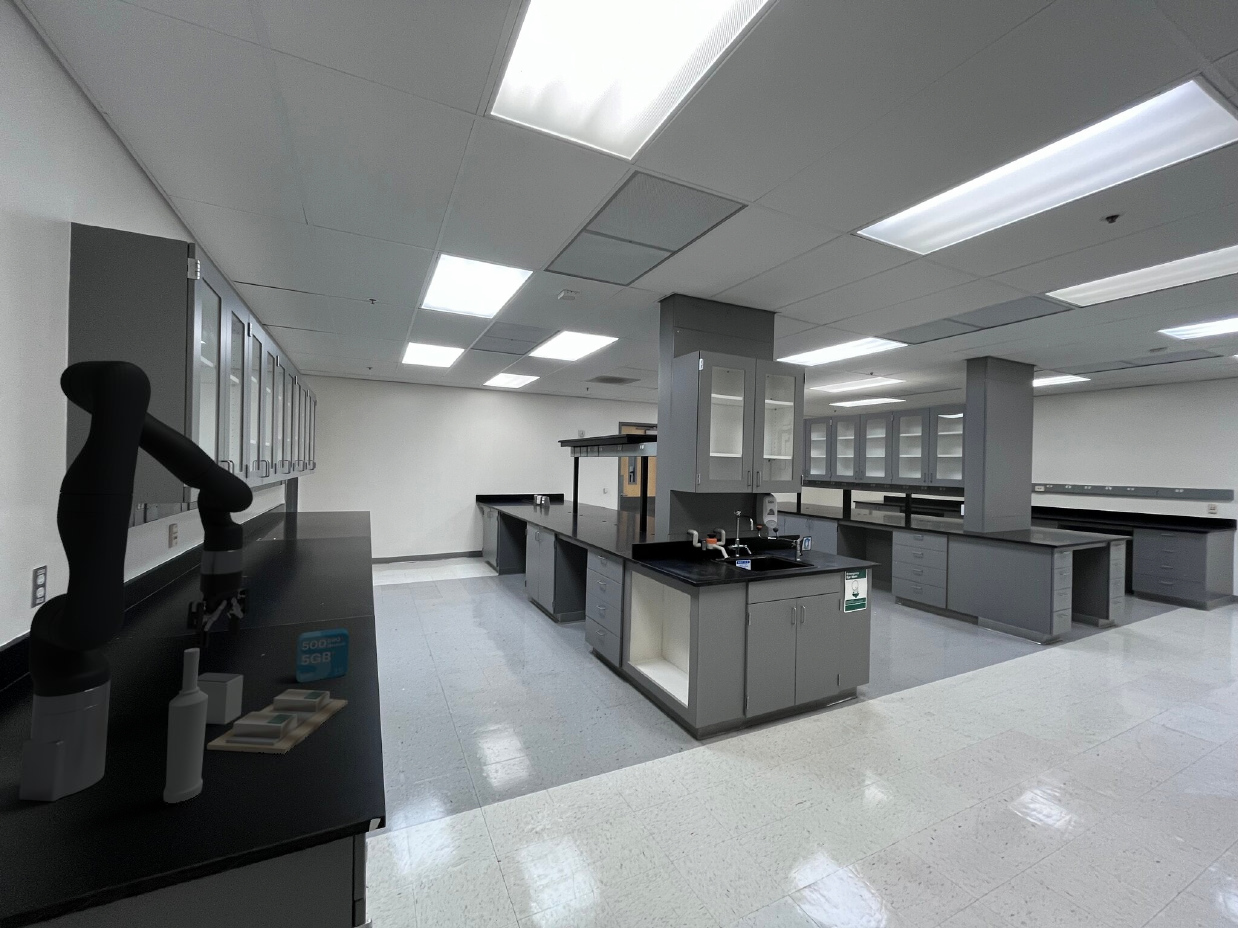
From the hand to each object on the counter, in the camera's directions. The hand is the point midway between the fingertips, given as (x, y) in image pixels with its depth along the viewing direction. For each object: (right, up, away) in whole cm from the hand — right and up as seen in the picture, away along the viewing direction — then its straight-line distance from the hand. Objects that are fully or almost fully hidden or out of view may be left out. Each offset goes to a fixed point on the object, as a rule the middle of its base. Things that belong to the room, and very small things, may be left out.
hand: (218, 640), depth 114 cm
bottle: (+15, -18, -27) cm, 36 cm away
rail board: (+16, -18, -2) cm, 24 cm away
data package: (+9, -19, +24) cm, 32 cm away
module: (-1, -17, 0) cm, 17 cm away
